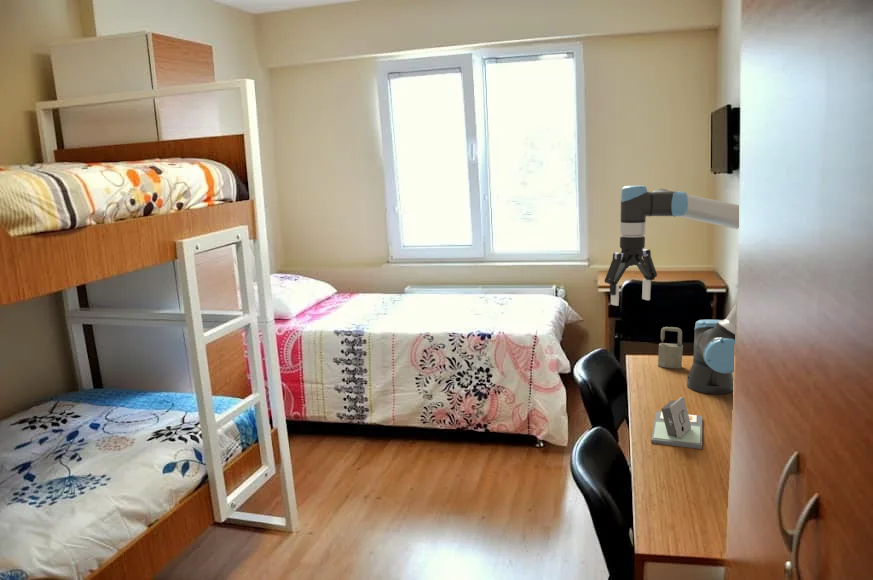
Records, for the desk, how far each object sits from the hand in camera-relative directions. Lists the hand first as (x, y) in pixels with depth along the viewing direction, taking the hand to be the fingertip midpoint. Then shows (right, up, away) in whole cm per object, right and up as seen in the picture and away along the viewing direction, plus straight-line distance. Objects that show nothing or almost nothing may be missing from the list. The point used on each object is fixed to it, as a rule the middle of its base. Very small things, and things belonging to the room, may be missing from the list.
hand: (630, 302), depth 213 cm
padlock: (+25, -25, +36) cm, 51 cm away
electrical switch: (+5, -36, -26) cm, 44 cm away
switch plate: (+7, -36, -22) cm, 43 cm away
